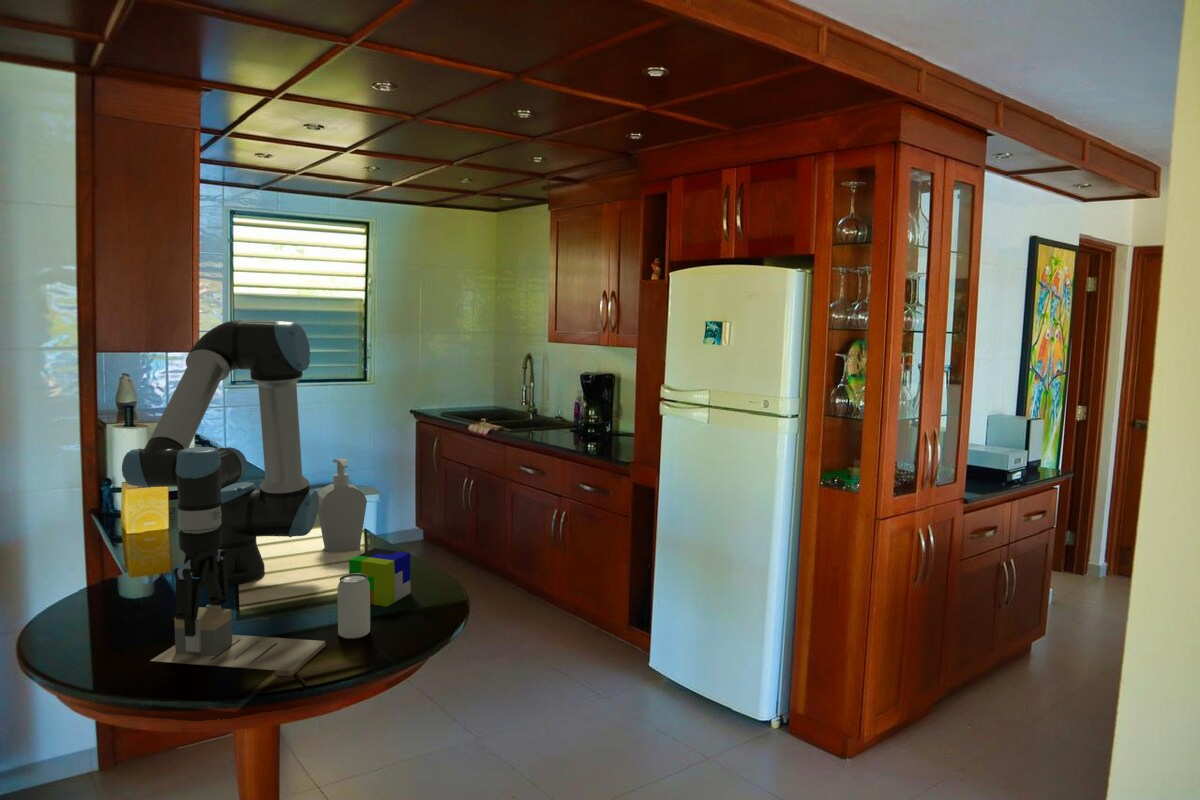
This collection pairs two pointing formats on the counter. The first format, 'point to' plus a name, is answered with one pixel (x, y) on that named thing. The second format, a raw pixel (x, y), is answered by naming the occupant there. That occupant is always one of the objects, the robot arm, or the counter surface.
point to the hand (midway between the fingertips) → (204, 643)
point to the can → (353, 606)
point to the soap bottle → (341, 512)
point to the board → (254, 654)
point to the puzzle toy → (384, 574)
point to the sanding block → (207, 631)
